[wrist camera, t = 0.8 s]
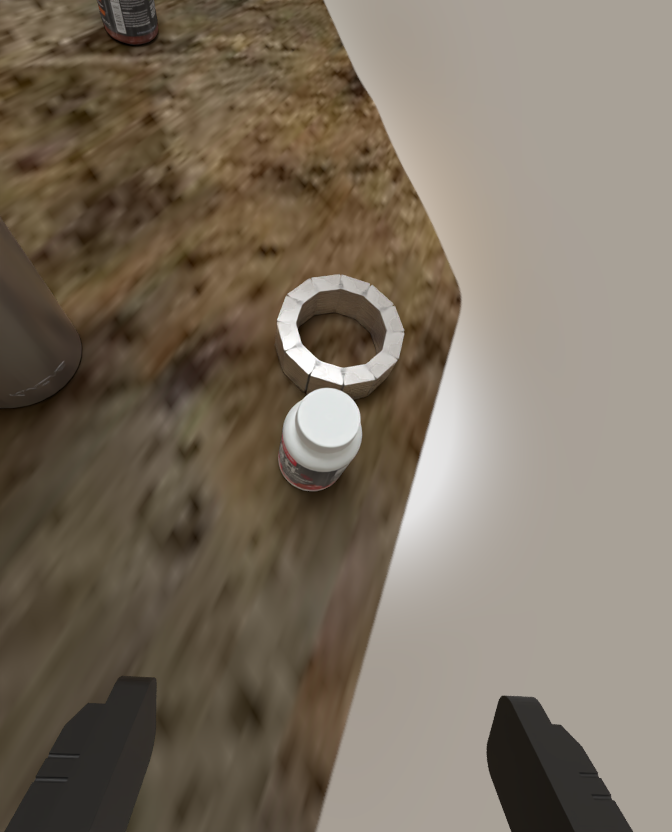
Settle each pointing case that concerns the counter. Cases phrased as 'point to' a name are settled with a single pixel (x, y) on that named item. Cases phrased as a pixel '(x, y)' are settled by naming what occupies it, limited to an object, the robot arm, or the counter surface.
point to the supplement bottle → (129, 20)
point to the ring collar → (350, 302)
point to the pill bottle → (319, 439)
